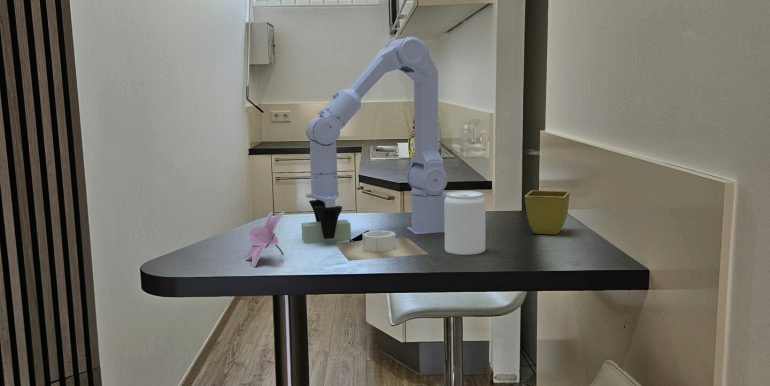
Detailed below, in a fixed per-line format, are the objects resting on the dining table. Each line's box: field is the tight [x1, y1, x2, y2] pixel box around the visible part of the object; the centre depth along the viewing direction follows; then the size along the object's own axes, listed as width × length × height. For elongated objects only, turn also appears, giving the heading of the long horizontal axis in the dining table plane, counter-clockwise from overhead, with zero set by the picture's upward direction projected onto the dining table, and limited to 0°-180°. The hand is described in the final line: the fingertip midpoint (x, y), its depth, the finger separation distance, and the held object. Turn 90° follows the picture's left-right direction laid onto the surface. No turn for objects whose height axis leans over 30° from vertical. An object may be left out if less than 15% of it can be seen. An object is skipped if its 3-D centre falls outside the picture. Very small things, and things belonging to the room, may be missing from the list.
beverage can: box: [444, 190, 486, 256], centre depth 140 cm, size 8×8×12 cm
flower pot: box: [524, 189, 571, 236], centre depth 158 cm, size 9×9×9 cm
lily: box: [244, 211, 285, 267], centre depth 138 cm, size 12×12×10 cm
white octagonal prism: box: [361, 230, 397, 252], centre depth 144 cm, size 6×6×3 cm
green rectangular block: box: [300, 219, 352, 244], centre depth 153 cm, size 10×4×4 cm, turn 105°
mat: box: [333, 237, 429, 262], centre depth 144 cm, size 16×16×1 cm
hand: (326, 234), depth 153 cm, fingers open, 7 cm apart
